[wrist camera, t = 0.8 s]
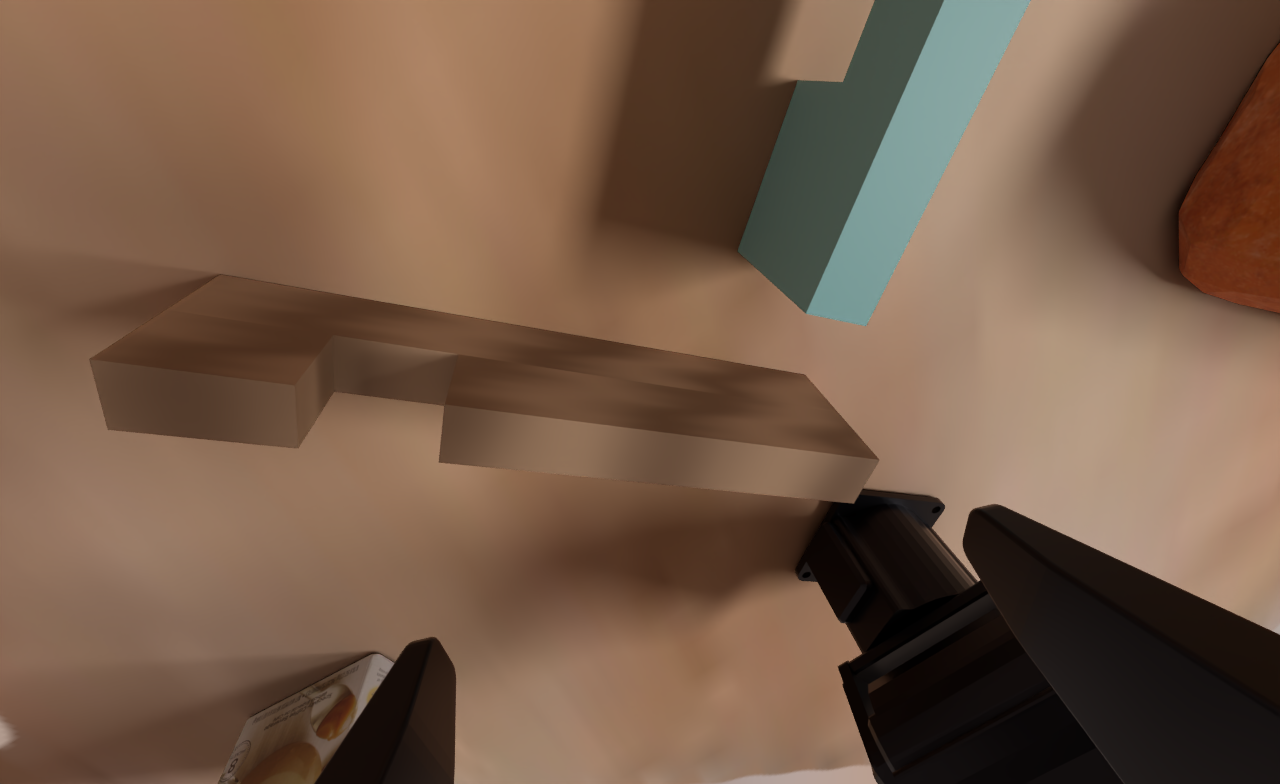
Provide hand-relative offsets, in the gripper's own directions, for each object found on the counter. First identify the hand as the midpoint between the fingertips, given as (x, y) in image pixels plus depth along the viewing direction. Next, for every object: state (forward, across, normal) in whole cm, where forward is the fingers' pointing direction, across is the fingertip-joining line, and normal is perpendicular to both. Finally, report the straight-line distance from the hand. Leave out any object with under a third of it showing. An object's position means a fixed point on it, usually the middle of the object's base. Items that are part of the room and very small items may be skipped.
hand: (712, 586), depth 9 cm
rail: (+13, +3, +2) cm, 14 cm away
